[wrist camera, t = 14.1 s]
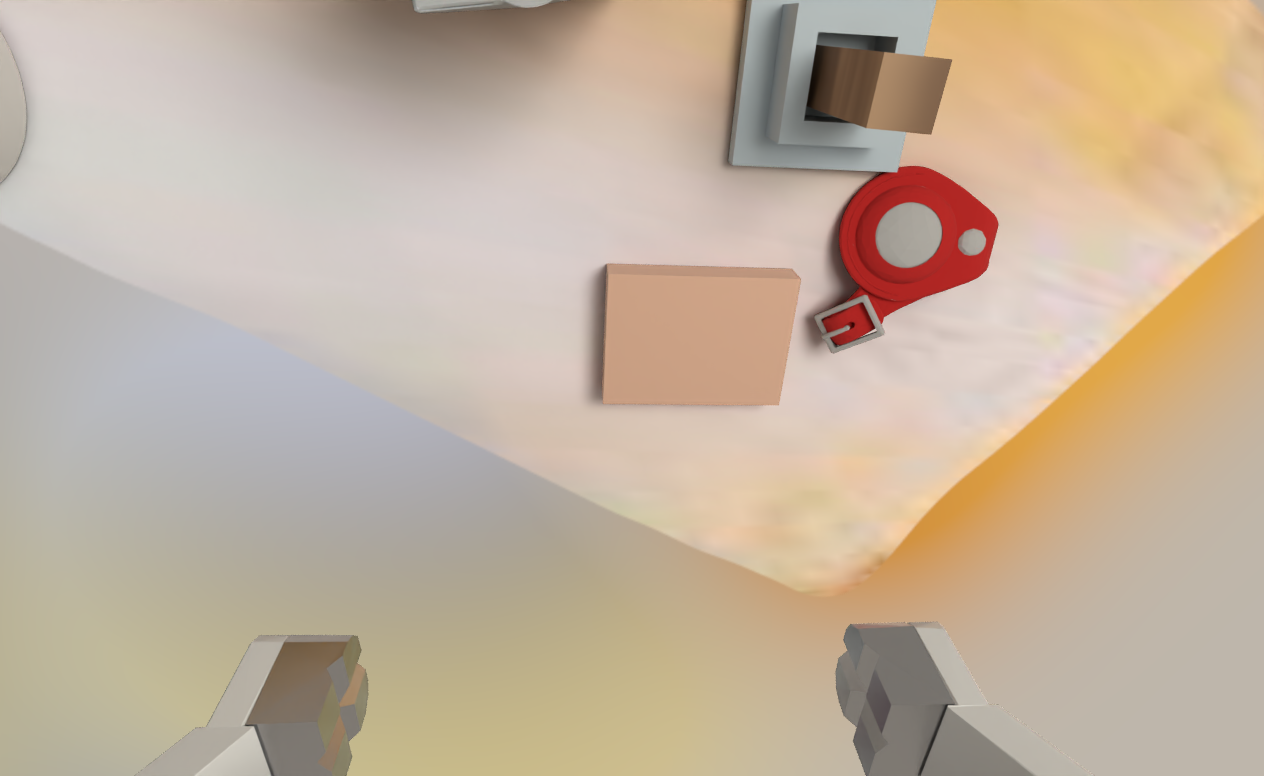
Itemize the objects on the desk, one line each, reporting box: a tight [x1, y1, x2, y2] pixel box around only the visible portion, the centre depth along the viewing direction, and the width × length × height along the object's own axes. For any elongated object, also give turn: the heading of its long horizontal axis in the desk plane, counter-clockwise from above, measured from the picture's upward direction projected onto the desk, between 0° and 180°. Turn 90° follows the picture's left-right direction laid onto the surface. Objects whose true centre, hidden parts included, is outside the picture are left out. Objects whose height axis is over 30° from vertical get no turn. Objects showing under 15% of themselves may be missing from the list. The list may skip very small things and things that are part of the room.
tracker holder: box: [814, 166, 998, 353], centre depth 44 cm, size 12×4×10 cm
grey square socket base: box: [728, 0, 936, 172], centre depth 38 cm, size 10×10×4 cm
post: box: [806, 45, 952, 135], centre depth 34 cm, size 3×3×10 cm
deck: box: [602, 264, 801, 405], centre depth 45 cm, size 12×9×2 cm
